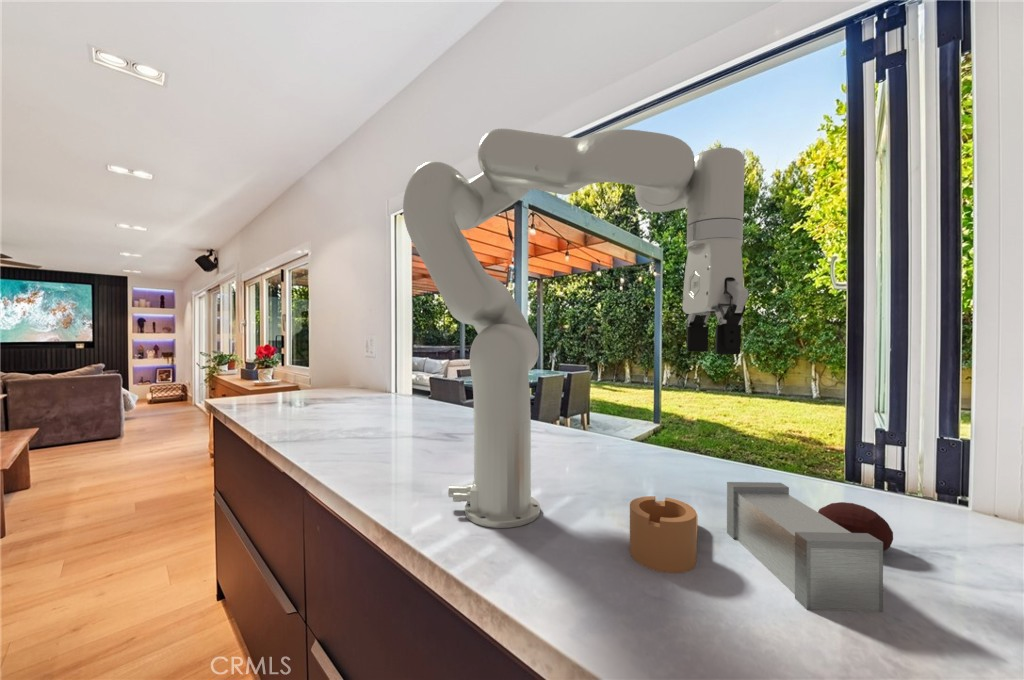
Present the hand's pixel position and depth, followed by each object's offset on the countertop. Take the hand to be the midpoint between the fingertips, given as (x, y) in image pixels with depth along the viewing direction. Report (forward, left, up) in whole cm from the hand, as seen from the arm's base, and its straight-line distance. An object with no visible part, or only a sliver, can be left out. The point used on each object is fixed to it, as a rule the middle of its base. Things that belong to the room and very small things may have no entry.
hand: (711, 352), depth 62 cm
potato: (+18, -3, -27) cm, 33 cm away
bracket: (-8, -3, -28) cm, 29 cm away
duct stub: (+6, -9, -27) cm, 29 cm away
